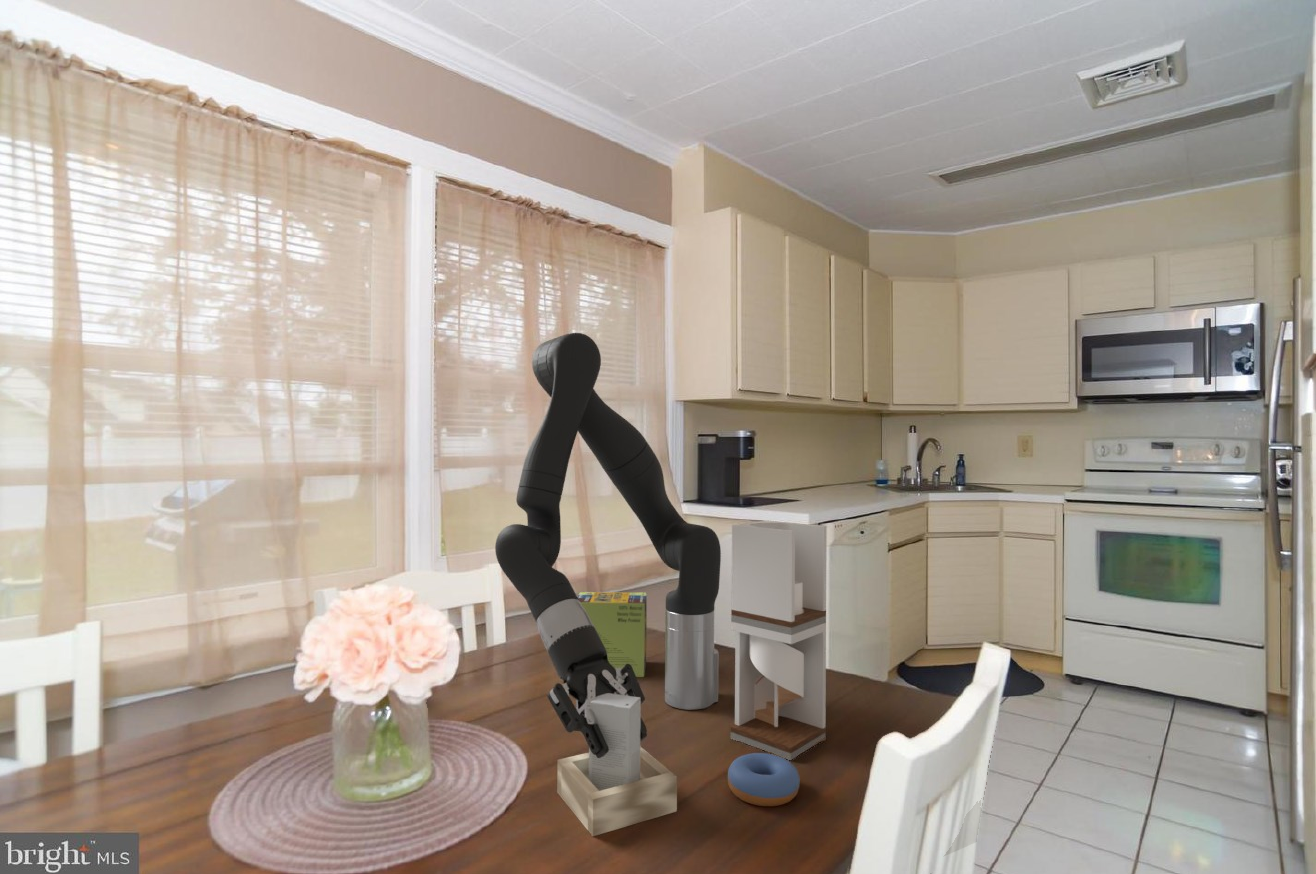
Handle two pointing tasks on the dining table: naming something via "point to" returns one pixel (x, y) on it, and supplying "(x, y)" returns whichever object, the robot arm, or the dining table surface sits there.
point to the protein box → (620, 626)
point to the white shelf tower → (779, 635)
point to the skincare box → (616, 741)
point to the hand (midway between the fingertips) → (623, 746)
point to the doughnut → (763, 779)
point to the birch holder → (616, 794)
